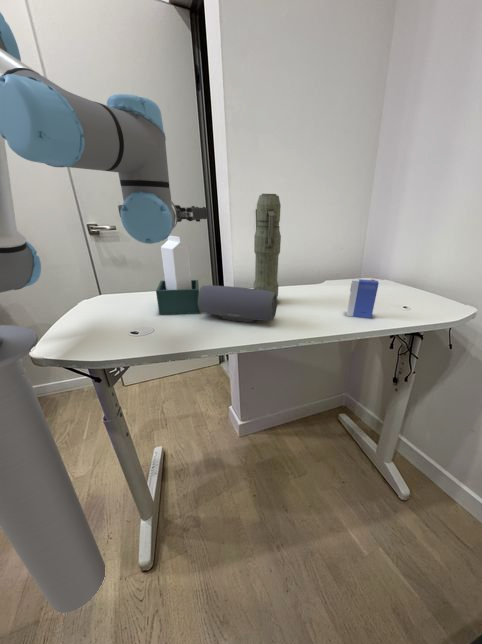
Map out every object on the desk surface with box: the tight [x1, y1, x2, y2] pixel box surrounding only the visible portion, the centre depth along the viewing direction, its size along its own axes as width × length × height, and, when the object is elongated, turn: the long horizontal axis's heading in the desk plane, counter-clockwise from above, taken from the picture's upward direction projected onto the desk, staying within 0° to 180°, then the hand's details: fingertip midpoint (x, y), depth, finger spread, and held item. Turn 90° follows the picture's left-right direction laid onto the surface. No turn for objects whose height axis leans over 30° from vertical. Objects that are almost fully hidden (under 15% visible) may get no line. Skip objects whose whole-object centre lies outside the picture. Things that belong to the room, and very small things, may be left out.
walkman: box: [346, 278, 380, 319], centre depth 94 cm, size 8×3×12 cm, turn 76°
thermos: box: [253, 193, 282, 297], centre depth 99 cm, size 9×12×35 cm
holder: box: [155, 279, 201, 316], centre depth 97 cm, size 13×13×8 cm
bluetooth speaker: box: [198, 284, 278, 323], centre depth 88 cm, size 23×9×10 cm, turn 76°
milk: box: [160, 235, 192, 290], centre depth 93 cm, size 6×6×22 cm
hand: (167, 211), depth 76 cm, fingers open, 13 cm apart
